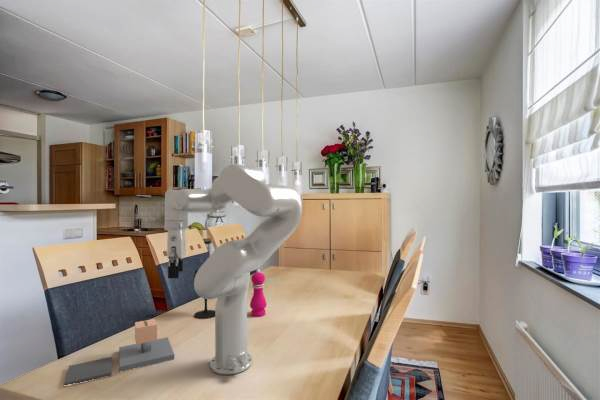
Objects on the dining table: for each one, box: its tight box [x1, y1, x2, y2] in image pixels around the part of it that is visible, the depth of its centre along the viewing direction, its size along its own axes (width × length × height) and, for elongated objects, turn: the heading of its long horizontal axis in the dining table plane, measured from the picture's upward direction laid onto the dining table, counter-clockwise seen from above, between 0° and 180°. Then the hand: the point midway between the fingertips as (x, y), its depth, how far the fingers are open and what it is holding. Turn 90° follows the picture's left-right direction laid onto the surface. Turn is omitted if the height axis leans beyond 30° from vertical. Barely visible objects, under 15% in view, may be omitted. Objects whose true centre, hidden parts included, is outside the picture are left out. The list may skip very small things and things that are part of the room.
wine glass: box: [192, 268, 215, 320], centre depth 139 cm, size 10×10×20 cm
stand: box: [118, 337, 175, 372], centre depth 102 cm, size 15×15×2 cm
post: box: [141, 342, 151, 353], centre depth 102 cm, size 3×3×8 cm
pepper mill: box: [249, 268, 267, 318], centre depth 139 cm, size 7×7×20 cm
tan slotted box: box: [134, 318, 158, 345], centre depth 102 cm, size 6×6×5 cm
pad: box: [63, 356, 113, 386], centre depth 92 cm, size 11×11×1 cm
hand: (175, 274), depth 109 cm, fingers open, 9 cm apart
